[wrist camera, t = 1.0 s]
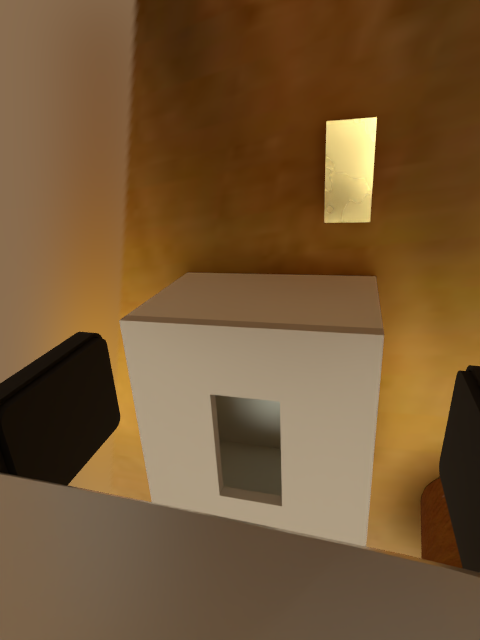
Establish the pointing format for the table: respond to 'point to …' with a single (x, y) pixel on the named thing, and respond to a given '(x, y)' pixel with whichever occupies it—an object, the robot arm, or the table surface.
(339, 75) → the table surface
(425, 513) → the disposable coffee cup
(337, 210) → the wooden block
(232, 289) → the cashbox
